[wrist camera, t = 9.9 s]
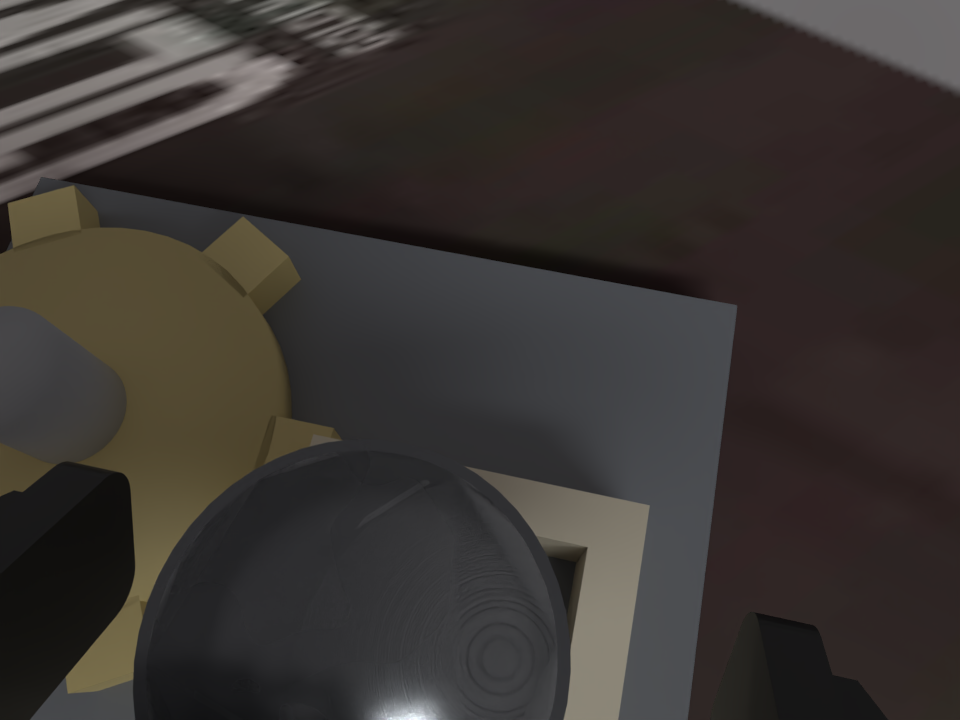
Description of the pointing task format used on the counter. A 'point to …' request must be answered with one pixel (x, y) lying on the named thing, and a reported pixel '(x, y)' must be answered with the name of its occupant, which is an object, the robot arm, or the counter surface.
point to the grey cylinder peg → (355, 598)
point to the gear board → (369, 405)
